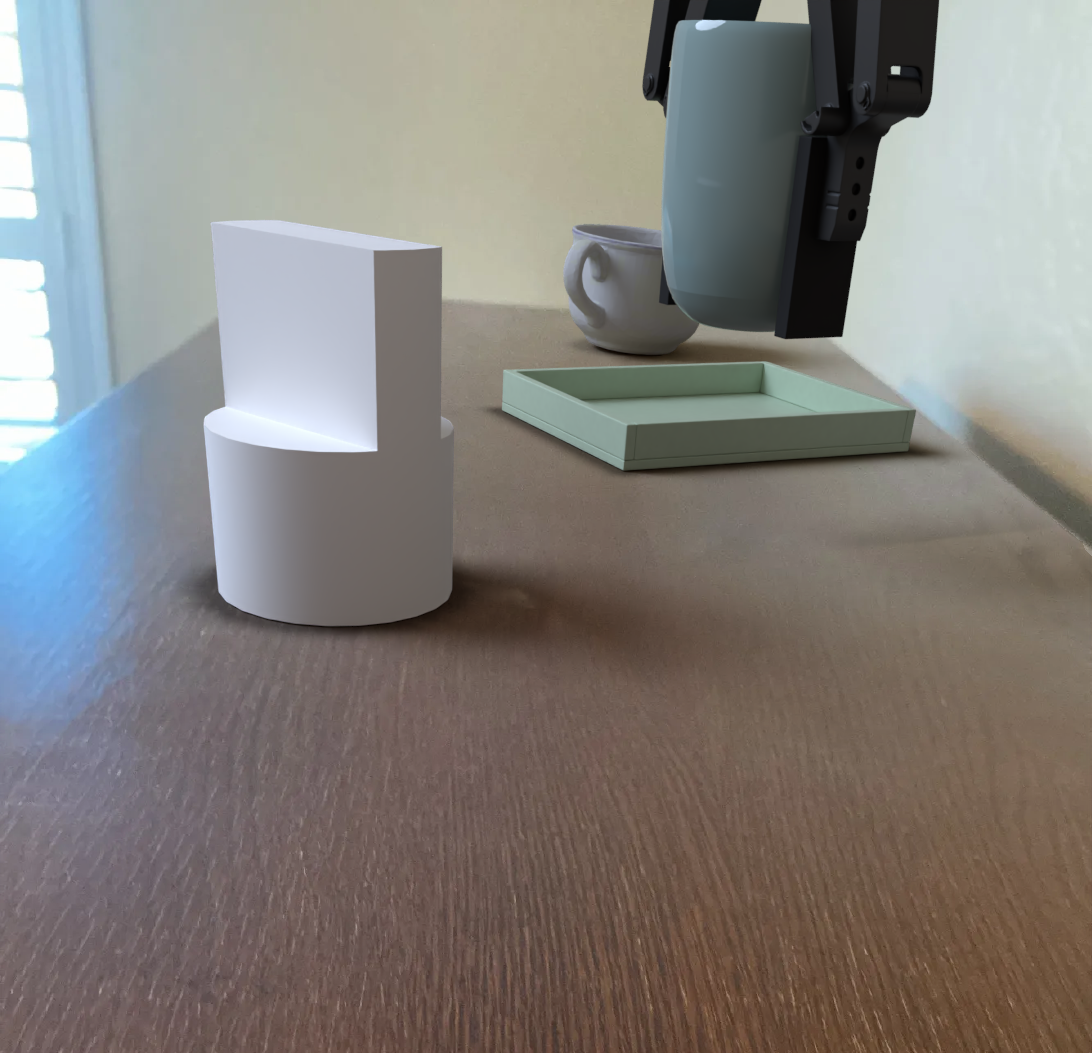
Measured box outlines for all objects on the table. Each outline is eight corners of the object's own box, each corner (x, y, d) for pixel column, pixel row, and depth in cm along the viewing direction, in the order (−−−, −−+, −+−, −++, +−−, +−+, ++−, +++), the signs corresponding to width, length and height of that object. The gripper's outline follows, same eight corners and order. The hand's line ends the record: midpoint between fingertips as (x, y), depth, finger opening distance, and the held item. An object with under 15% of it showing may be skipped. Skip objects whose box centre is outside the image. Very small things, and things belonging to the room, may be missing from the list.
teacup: (638, 333, 108) (647, 222, 103) (733, 356, 101) (747, 238, 96) (505, 344, 100) (508, 224, 95) (598, 369, 93) (607, 241, 89)
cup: (823, 348, 50) (871, 25, 44) (628, 329, 52) (650, 17, 46) (852, 321, 56) (897, 35, 50) (676, 305, 58) (701, 27, 52)
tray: (761, 398, 87) (766, 361, 86) (908, 451, 76) (916, 409, 75) (501, 410, 80) (502, 369, 78) (623, 471, 69) (626, 424, 67)
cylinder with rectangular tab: (499, 591, 51) (511, 244, 45) (322, 644, 46) (304, 255, 39) (347, 538, 56) (337, 217, 49) (170, 580, 50) (130, 223, 44)
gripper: (577, -423, 47) (550, 285, 60) (975, -643, 32) (824, 369, 45) (751, -385, 50) (689, 282, 63) (1191, -570, 35) (990, 361, 48)
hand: (745, 318), depth 54 cm, fingers closed on cup, 8 cm apart
